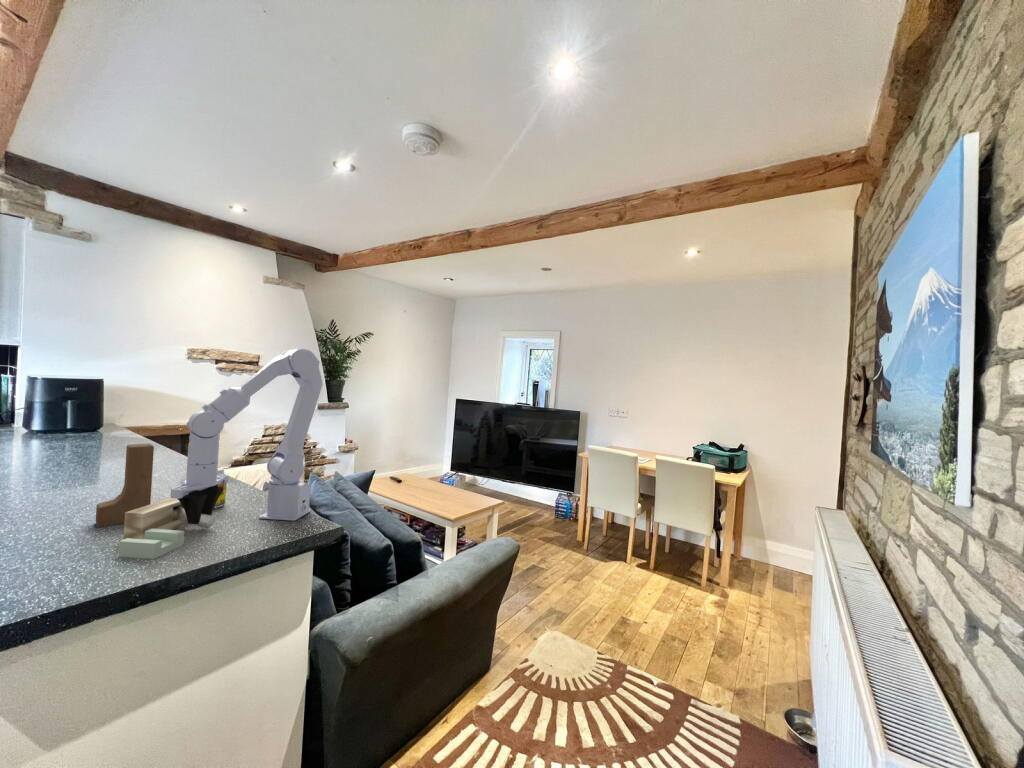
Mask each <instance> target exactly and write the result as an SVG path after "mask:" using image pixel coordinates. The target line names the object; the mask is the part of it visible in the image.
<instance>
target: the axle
mask: <svg viewBox="0 0 1024 768" xmlns="http://www.w3.org/2000/svg"><path fill="white" fill-rule="evenodd" d="M172 518H173V519H176V520H179V521H183V522H186V523H188V521H187V517H186V513H185V510H184V508H183V507H180V506H175V507H173V516H172ZM215 521H216V518H215V516H213V515H211V516H210V515H207V514H203V513H201V518H200V522H199V523H198V524H191V525H193V526H195V527H200V528H202V529H206V530H208V529H210V528H212V526H213V525H214V523H215Z"/></svg>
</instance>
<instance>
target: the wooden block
mask: <svg viewBox="0 0 1024 768" xmlns="http://www.w3.org/2000/svg"><path fill="white" fill-rule="evenodd" d="M154 450H155V446H154V445H153V444H151V443H136V444H135V443H132V444H128V445H126V450H125V451H126V452H125V467H124V482H123V483H124V484H123V487H122V490H121V493H119V494H118V495H117V496H116V497H114V498H113V499H111V500H106V501H103V502H100V503H97V504H96V507H95V509H96V510H95V524H96V526H97V528H104V527H110V526H116V525H122V524H124V521H125V512H128V511H131V510H135V509H138V508H141V507H144V506H147V505H150V504H151V499H152V484H153V471H154V470H153V468H154V466H153V465H154V453H155V451H154Z"/></svg>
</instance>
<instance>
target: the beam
mask: <svg viewBox="0 0 1024 768" xmlns="http://www.w3.org/2000/svg"><path fill="white" fill-rule="evenodd" d="M175 506H180V507H183V506H182V504H181V503H180V501H179V500H178V499H177V498H171V497H169V498H167V499H163V500H160V501H157V502H153V503H150V505H147V506H144V507H141V508H138V509H135V510H131V511H128V512H125V521H124V523H123V539H122V540H124V539H126V538H132V539H144V537H145V531H147V530H150V529H165V530H174V529H175V530H178V529H179V528H182V527H184V526H186V524H187V525H189V524H188V523H186V522H183V521H179V520H176V519H173V518H172V516H173V507H175ZM183 525H184V526H183ZM181 526H182V527H181Z"/></svg>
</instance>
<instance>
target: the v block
mask: <svg viewBox="0 0 1024 768" xmlns="http://www.w3.org/2000/svg"><path fill="white" fill-rule="evenodd" d="M184 542H185V530H178V529H175V530H165V529H150V530H147V531H145V537H144V539H132V538H126V539H124V540H123V539H121V540H119V541H118V553H117V555H118V556H117V557H120V558H129V559H130V558H132V559H146V560H147V559H148V560H155V559H157V558H158V557H159V558H160V557H161V556H163V555H166V554H167V553H169V552H171V551H174V550H175V549H178V548H180V547H182V546H184Z"/></svg>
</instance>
